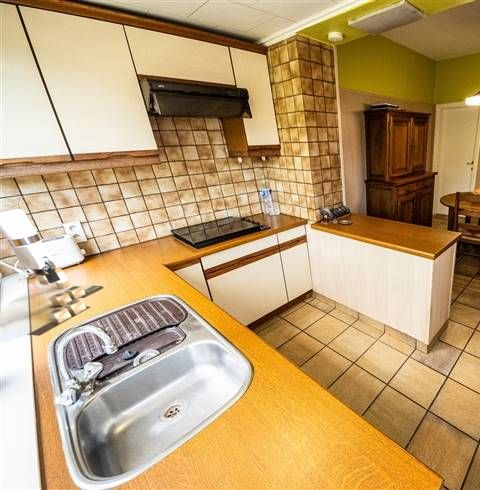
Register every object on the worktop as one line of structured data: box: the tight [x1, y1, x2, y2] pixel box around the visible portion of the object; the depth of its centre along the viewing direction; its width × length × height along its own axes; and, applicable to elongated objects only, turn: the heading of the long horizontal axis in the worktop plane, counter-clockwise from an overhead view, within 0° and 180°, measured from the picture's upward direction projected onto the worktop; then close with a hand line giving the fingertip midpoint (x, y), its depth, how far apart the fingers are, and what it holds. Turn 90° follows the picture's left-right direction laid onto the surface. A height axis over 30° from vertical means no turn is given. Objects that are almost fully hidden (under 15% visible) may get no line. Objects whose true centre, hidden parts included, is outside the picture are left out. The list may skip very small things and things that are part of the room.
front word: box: [27, 299, 91, 337], centre depth 108 cm, size 18×6×6 cm, turn 171°
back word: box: [48, 285, 104, 309], centre depth 125 cm, size 18×6×6 cm, turn 171°
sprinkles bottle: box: [45, 261, 71, 290], centre depth 133 cm, size 5×5×14 cm
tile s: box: [35, 272, 61, 286], centre depth 109 cm, size 4×4×4 cm
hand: (50, 280), depth 110 cm, fingers closed on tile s, 4 cm apart
